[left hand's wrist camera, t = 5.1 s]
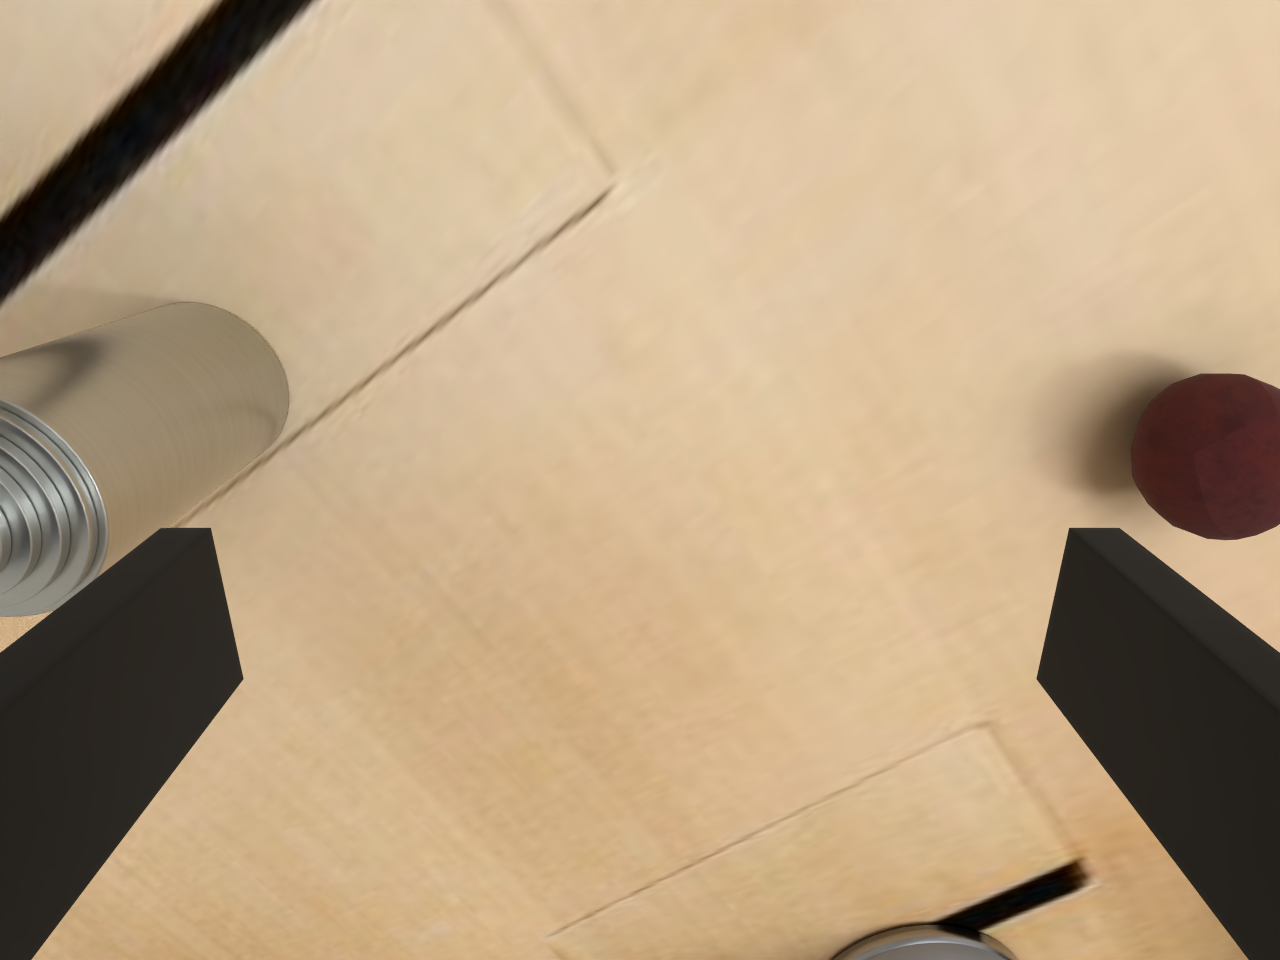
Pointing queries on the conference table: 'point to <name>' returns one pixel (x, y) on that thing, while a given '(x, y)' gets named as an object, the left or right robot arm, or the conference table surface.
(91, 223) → the conference table surface
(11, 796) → the left robot arm
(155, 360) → the bottle
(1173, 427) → the dark maroon ball
